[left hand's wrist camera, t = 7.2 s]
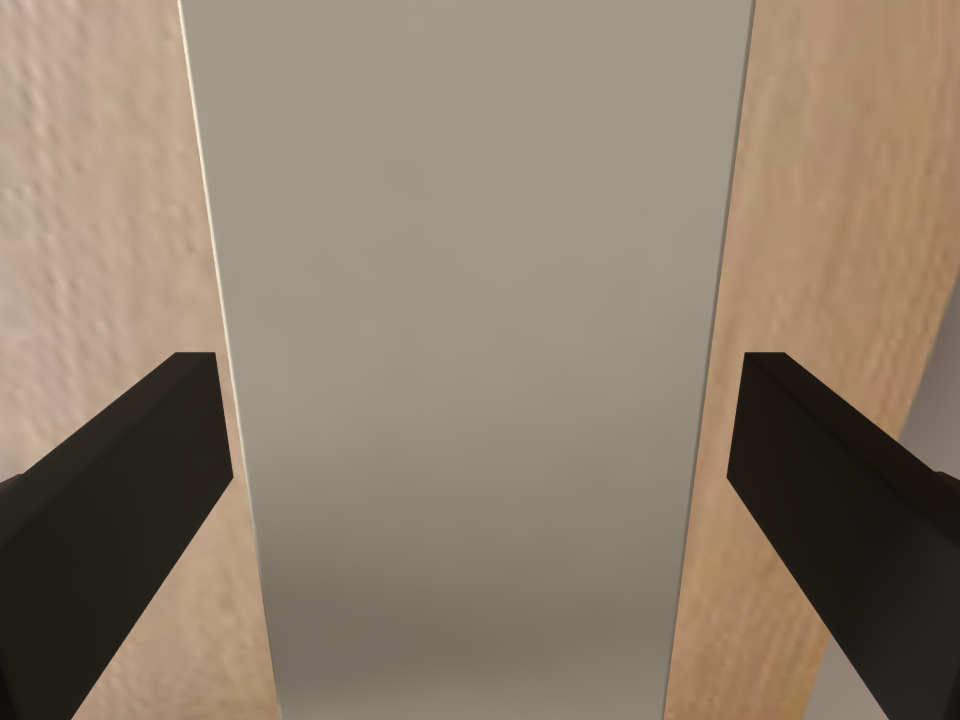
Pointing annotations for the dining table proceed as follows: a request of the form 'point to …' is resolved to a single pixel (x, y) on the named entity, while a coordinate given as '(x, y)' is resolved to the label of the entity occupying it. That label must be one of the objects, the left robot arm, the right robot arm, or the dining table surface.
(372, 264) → the bar
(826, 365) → the dining table surface
